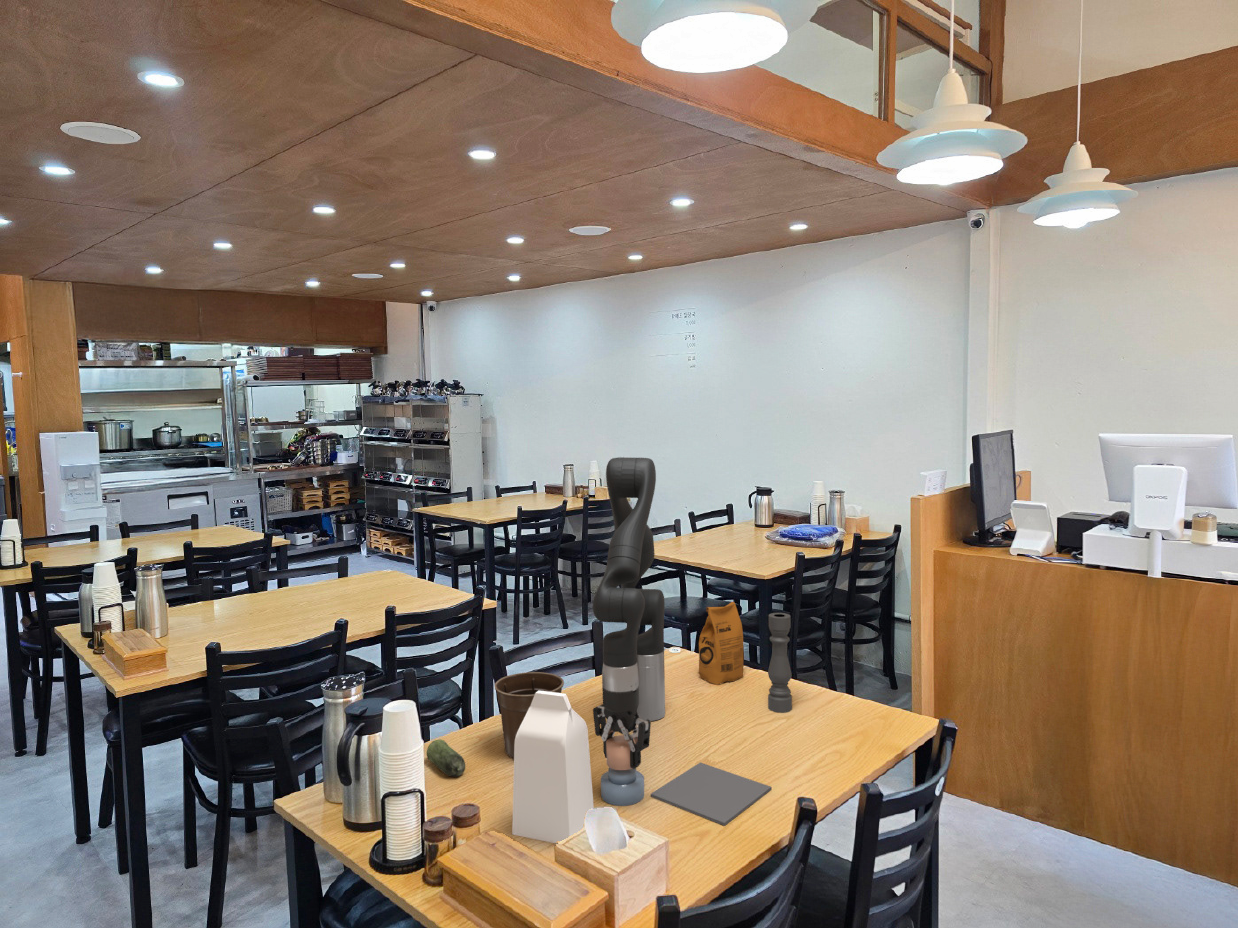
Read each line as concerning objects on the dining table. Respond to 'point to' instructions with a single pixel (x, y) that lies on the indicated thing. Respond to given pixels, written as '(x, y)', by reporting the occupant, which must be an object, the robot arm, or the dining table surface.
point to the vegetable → (445, 758)
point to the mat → (711, 793)
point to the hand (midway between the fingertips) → (622, 761)
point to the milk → (551, 770)
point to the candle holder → (779, 664)
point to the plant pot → (521, 700)
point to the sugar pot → (622, 787)
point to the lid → (618, 753)
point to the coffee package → (721, 645)
